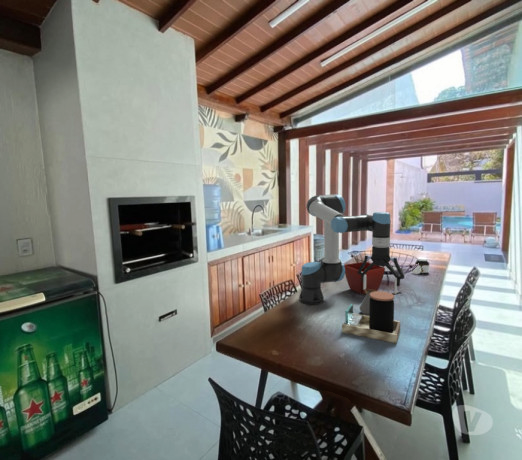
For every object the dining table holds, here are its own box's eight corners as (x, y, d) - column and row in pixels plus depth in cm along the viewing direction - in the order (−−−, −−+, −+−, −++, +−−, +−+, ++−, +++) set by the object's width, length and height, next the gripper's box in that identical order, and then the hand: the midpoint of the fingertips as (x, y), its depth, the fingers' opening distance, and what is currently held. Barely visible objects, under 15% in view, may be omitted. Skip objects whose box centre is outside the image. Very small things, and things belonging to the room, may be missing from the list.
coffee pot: (356, 315, 162) (357, 288, 160) (362, 308, 171) (363, 283, 169) (399, 324, 150) (400, 295, 148) (403, 316, 159) (404, 289, 157)
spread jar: (429, 272, 236) (430, 257, 235) (428, 276, 227) (429, 261, 225) (412, 270, 243) (413, 256, 241) (411, 274, 233) (411, 259, 232)
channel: (342, 332, 144) (342, 324, 143) (349, 320, 157) (349, 312, 156) (396, 343, 132) (396, 335, 131) (400, 329, 145) (400, 321, 144)
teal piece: (343, 329, 145) (343, 311, 143) (350, 319, 155) (350, 302, 154) (356, 332, 142) (356, 314, 140) (362, 321, 152) (362, 304, 151)
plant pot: (385, 292, 195) (386, 267, 192) (361, 297, 188) (362, 271, 186) (365, 284, 212) (365, 261, 210) (342, 288, 205) (342, 264, 203)
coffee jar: (396, 330, 143) (397, 293, 140) (389, 339, 134) (390, 300, 132) (373, 324, 149) (374, 289, 147) (365, 332, 141) (366, 296, 139)
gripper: (351, 245, 140) (350, 289, 143) (410, 249, 128) (409, 297, 130) (354, 243, 146) (354, 284, 149) (411, 246, 134) (410, 291, 137)
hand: (379, 290), depth 140 cm, fingers open, 13 cm apart
